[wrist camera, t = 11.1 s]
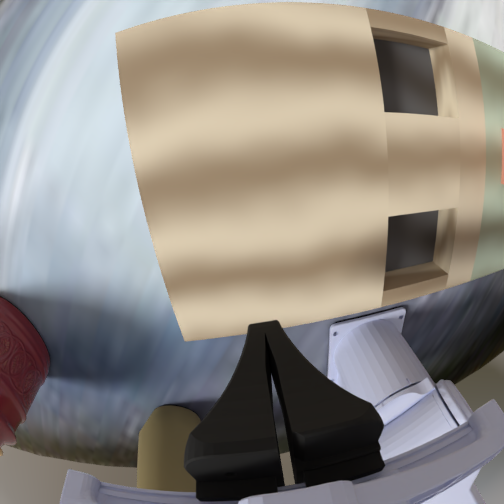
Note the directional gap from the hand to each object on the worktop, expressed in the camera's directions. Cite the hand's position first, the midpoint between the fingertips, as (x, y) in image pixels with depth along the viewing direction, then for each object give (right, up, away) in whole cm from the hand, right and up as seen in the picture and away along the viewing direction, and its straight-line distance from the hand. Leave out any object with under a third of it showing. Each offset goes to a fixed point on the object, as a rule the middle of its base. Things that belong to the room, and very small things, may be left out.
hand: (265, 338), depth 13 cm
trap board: (+10, +11, +6) cm, 16 cm away
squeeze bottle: (-10, -16, +17) cm, 25 cm away
